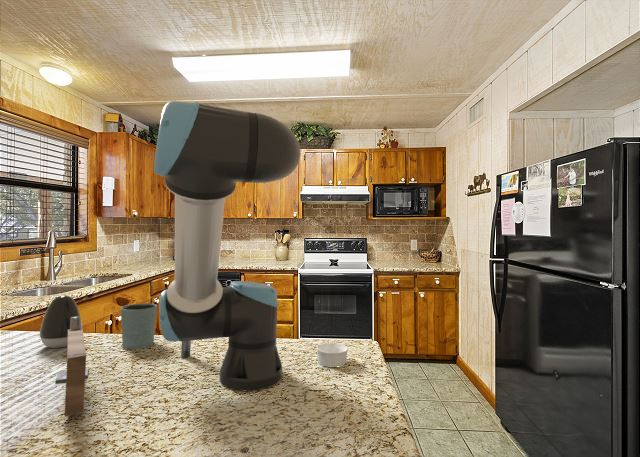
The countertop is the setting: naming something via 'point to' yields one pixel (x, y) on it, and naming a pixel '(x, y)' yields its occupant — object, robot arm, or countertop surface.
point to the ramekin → (332, 354)
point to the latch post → (186, 349)
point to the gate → (75, 372)
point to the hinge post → (63, 374)
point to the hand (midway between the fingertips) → (196, 269)
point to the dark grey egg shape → (58, 321)
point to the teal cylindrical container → (138, 325)
